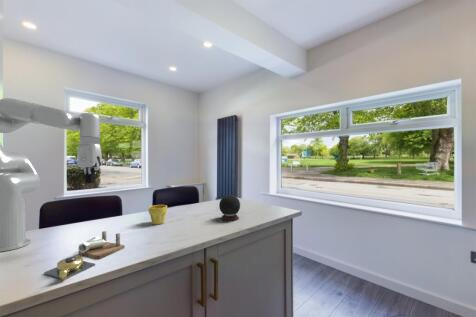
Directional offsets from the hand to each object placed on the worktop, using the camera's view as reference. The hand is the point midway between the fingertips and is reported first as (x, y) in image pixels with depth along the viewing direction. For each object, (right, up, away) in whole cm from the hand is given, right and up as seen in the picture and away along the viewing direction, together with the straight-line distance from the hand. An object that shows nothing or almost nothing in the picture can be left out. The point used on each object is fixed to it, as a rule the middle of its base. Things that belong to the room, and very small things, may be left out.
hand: (90, 182), depth 97 cm
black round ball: (+60, -27, +40) cm, 77 cm away
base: (+9, -27, -23) cm, 36 cm away
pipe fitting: (+7, -26, -8) cm, 28 cm away
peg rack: (+10, -27, -8) cm, 30 cm away
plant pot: (+19, -27, +31) cm, 46 cm away
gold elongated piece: (+10, -26, -25) cm, 37 cm away
